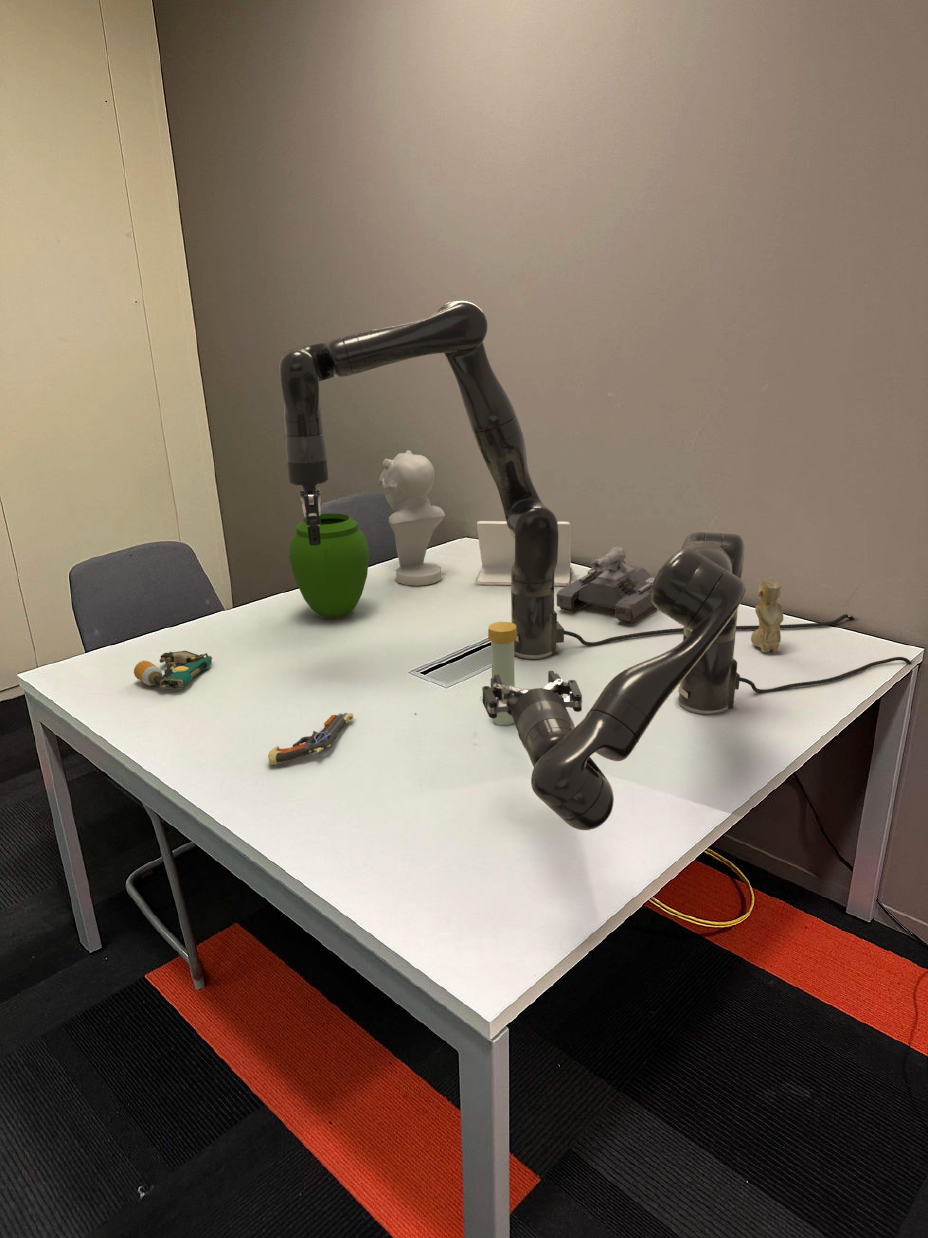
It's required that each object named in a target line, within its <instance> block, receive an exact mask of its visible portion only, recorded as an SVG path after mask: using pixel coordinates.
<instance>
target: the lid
mask: <svg viewBox="0 0 928 1238" xmlns="http://www.w3.org/2000/svg"><path fill="white" fill-rule="evenodd" d="M487 637H488V638H487V639H488V640H489V641H490V643H491V642H493V643H497V644H507V643H512V642H514V641H515V640H516V639H517V627H516V625H515V624H514V623H512V622H511V621H495V622H492V623H490V624H489V625H488V629H487Z"/></svg>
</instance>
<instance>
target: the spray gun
mask: <svg viewBox="0 0 928 1238" xmlns="http://www.w3.org/2000/svg"><path fill="white" fill-rule="evenodd" d="M212 660H213V657H212V656H211V655H208V653H207V652H205V653H201V654H197V653H194V652H192V651H191V652H190V651H188V650H180V651H169V652H164V653H162V654H161V655H160V658H159V660H158V662H159V663H161V664H163V663H165V664H166V668H165V670H163V672H164V674H163V673H162V669H160V668H159V666H157V665H156V664H154V663H152V662H151V661H149V660H141V661H139V662H138V663H136V665H135V666H134V668H133V675H134V677H135V678H136V679H137V680H139V681H140V682H142V683H143V684H145V685H147V686H155V685H157V686H158V687H160V688H161V689H171V690H172V689H173V690H182V689H184V687H185V686H186V685H188V684H189V683H190V682H191V681H192V679H193V678H195V677H196V676H197V675H198V674H200V673H201V672H202V671H203V670H206V669H208V668H209V667H210V666H211V665H212V662H213V661H212ZM178 663H179V664H181V665H179V666H176V665H177V664H178Z"/></svg>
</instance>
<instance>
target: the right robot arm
mask: <svg viewBox="0 0 928 1238" xmlns="http://www.w3.org/2000/svg"><path fill="white" fill-rule="evenodd" d="M744 561H745V542H744V539H743V537H742V536H741V535H740V534H736V533H724V532H723V533H722V532H703V531H699V532H692V533H689V534H688V535H687V536H686V537H685V539H684V540H683V543H682V544H681V548H680V550H678V551H676V552H675V553H673V554H672V555H671V556H670V557H669V558H668V559H667V560H666V561H665V562H664V564H662V565H661V567H660V568H659V570H658V571H657V573H656V575H655V579H654V581H653V584H652V587H651V592H650V597H651V602H652V603H653V605H654V606H655V608H656V609H657V611H659V612H661V613H662V614H663V615H665V616H667V617H668V618H670V619H671V620H673V621H674V622H676V623H678V624H679V625H681V626H683V628H684V632H682V633H683V634H682V635H683V636H682V641H681V642H679V644H677V645H676V646H674V647H673V648H671V649H668V650H667V651H665V652H663V653H661V654H659V655H656V656H654V657H652V658H649V659H647V660H645V661H642V662H639V663H636V664H635V665H632V666H630V667H627V668H626V669H624V670H623V671H621V672H619V673H618V674H617V675H615V676H614V677H613V678H612V679H611V680H610V681H609V682H608V683H607V684H606V686H605V687H604V688H603V690H602V691H601V693H600V694H599V695H598V697H597V699H596V700H595V702H594V703H593V705H592V706H591V708H590V709H589V711H588V712H587V714H586V715H585V717H584V718H583V719H582V720H581V721H580V722H579V723H578V724H577V725H576V726H575V723H574V721H573V719H572V716H571V715H570V712H569V711H568V709H567V708H570V709H571V708H572V710H573V712H575V713H580V712H582V710H583V709H582V708H583V694H582V692H581V689H580V686H579V684H578V683H577V680H576V679H569V680H568V681H564V679H562V678H561V676H560V675H559V674H558V673H557V672H556V673H555V672H554V670H548V671H547V684H546V685H544V686H543V687H536V688H523V689H522V688H519V687H517V686H512V685H509V686H504V685H502V682H501V679H500V676H499V675H494V678H492V677H491V678H490V686H489V685H484V686H482V687H481V689H482V690H481V691H482V704H483V707H484V709H485V711H486V714H487V716H488V718H490V719H493V718H496V717H497V713H501V712H507V713H508V714H509V715H511V716H512V717H513V720H514V723H513V724H514V725H515V728H516V731H517V735H518V738H519V740H520V741H521V744H522V746H523V748H524V750H525V751H526V752H527V754H528V757H529V759H530V763H531V765H532V767H533V769H532V773H531V776H530V777H531V778H530V784H531V785H530V786H531V789H532V791H533V793H534V794H535V796H536V797H537V798H539V800H540V801H542V802H543V803H544V804H545V805H546V806H547V807H548V808H550V810H552V811H553V812H554V813H555V814H556V815H557V816H558V817H559V818H560V819H561V820H563V821H564V823H565V824H567V825H568V826H570V827H572V828H574V829H576V830H579V831H591V830H594V829H597V828H599V827H600V826H602V825H603V824H604V823H606V821H607V820H608V819H609V817H610V816H611V813H612V811H613V807H614V801H615V797H614V790H613V788H612V784H610V782H609V779H607V777H606V776H605V774H604V773H603V771H602V770H601V769H600V767H599V766H598V765H597V763H596V762H595V761H594V760H593V758H592V757H591V756H592V755H594V754H595V753H596V754H597V755H599V756H601V757H603V758H604V759H607V760H609V761H614V762H622V761H625V760H626V759H627V758H628V757H629V756H630V755H631V754H632V752H633V751H634V749H635V748H636V746H637V744H638V743H639V742H640V740H641V738H642V737H643V735H644V734H645V732H646V731H647V729H648V728H649V726H650V724H651V723H652V721H653V720H654V718H655V717H656V715H657V713H658V712H659V711H660V709H661V708H662V706H663V705H664V703H665V702H666V701H667V700H668V698H669V697H670V696H671V695H672V694H673V692H674V691H675V690H676V689H677V688H678V691H677V692H678V700H677V701H678V704H679V705H680V707H681V708H683V709H685V710H687V711H688V712H692V713H695V714H701V715H717V714H722V713H724V712H726V711H728V710H731V709H732V710H733V709H734V706H735V694H736V691H737V690H739V689H740V682H741V683H745V684H747V685H748V686H750V687H751V689H752V690H753V691H754V692H755V693H758V694H767V693H774V692H780V691H783V690H787V689H791V688H798V687H799V688H800V687H807V686H814V685H821V684H826V683H831V682H835V681H838V680H842V679H844V678H847V677H849V676H852V675H855V674H857V673H860V672H862V671H866V670H867V669H870V668H872V667H875V666H879V665H885V664H888V663H892V662H895V661H902V662H905V663H906V664H908V665H911V664H912V662H911V660H909V658H907V657H905V656H894V657H890V658H886V659H882V660H881V659H880V660H877V661H873V662H870V663H868V664H865V665H863V666H860V667H858V668H855V669H853V670H849V671H847V672H844V673H842V674H839V675H836V676H832V677H829V678H824V679H823V678H822V679H818V680H809V681H802V682H795V683H789V684H785V685H781V686H777V687H774V688H768V689H767V688H766V689H761V688H757V687H756V685H755V683H754V682H753V680H750V679H747V678H745V677H741V675H740V674H739V672H737V670H738V661H737V660H736V659H735V658H734V657H735V656H734V655H735V646H736V645H735V644H736V633H737V630H736V626H737V623H738V622H737V621H738V612H739V611H738V609H739V607H740V605H741V603H742V601H743V598H744V596H745V592H746V584H745V582H744V581H743V580H742V574H743V569H744ZM502 692H503V694H504V697H502ZM513 694H514V695H513ZM564 695H567V696H566V698H564Z"/></svg>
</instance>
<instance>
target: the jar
mask: <svg viewBox="0 0 928 1238" xmlns="http://www.w3.org/2000/svg"><path fill="white" fill-rule="evenodd" d="M490 653H491V655H490V656H491V659H490V660H491V678H494V675H499V676H500V679H501V682H502V685H504V686H509V685H512V686H515V684H516V683H515V681H516V680H515V678H516V677H515V655H514V642H512V643H507V644H497V643H493V642H491V641H490ZM515 687H516V686H515ZM513 695H514V694H513ZM502 697H504V694H503V692H502ZM492 722H493V723H494V724H495V725H498V726H509V725H513V724H515V723H514V720H513V717H512V716H511V715H509V714H508V713H507V712H501V713H497V717H496V718H492Z"/></svg>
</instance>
